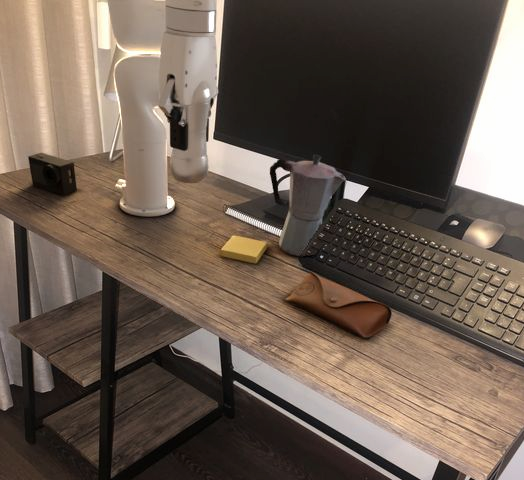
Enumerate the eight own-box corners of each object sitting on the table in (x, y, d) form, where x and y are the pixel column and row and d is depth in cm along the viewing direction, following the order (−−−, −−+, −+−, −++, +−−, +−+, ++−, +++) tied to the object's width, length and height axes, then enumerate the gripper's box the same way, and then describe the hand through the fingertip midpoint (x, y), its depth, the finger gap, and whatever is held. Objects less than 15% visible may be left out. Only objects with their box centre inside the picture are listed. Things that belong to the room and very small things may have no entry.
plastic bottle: (170, 173, 100) (169, 49, 88) (208, 175, 101) (212, 52, 89) (168, 186, 95) (167, 56, 83) (208, 189, 96) (212, 60, 84)
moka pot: (330, 263, 114) (347, 167, 103) (257, 251, 116) (266, 155, 104) (335, 244, 122) (351, 152, 110) (266, 233, 124) (275, 141, 112)
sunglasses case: (281, 299, 100) (295, 265, 99) (297, 303, 106) (311, 271, 105) (368, 340, 92) (385, 303, 91) (380, 342, 98) (396, 308, 97)
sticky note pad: (220, 256, 113) (220, 249, 112) (233, 241, 119) (233, 234, 118) (255, 263, 112) (256, 257, 111) (266, 248, 118) (267, 242, 117)
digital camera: (28, 186, 134) (23, 157, 130) (45, 180, 138) (41, 151, 134) (60, 197, 130) (56, 167, 126) (77, 190, 134) (73, 161, 130)
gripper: (202, 14, 90) (199, 129, 101) (133, 21, 78) (139, 151, 89) (241, 21, 88) (234, 138, 99) (177, 30, 76) (177, 162, 87)
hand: (189, 143), depth 94 cm, fingers closed on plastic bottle, 5 cm apart
